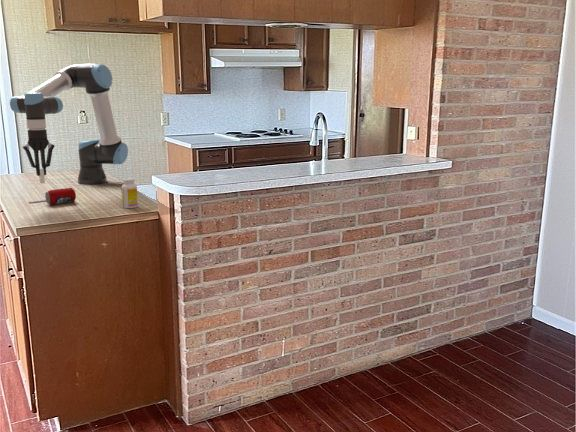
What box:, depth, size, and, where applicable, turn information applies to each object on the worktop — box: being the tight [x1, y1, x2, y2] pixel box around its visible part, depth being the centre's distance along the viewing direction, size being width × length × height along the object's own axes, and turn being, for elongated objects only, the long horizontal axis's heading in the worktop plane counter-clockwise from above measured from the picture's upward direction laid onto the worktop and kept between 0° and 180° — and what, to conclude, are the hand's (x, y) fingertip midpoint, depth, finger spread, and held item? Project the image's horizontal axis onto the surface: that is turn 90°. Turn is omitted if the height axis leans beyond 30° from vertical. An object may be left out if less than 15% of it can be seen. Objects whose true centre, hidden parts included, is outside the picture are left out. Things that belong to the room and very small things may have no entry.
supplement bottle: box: [121, 177, 139, 209], centre depth 247 cm, size 7×7×13 cm
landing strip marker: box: [28, 199, 46, 204], centre depth 259 cm, size 18×2×1 cm, turn 127°
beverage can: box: [44, 187, 77, 206], centre depth 253 cm, size 7×7×12 cm
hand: (42, 182), depth 244 cm, fingers closed
